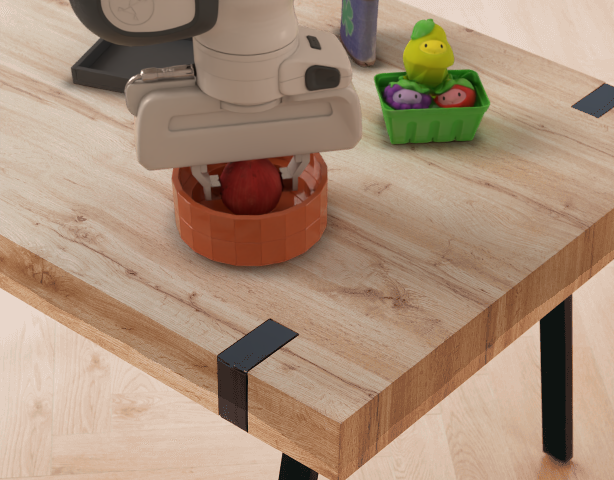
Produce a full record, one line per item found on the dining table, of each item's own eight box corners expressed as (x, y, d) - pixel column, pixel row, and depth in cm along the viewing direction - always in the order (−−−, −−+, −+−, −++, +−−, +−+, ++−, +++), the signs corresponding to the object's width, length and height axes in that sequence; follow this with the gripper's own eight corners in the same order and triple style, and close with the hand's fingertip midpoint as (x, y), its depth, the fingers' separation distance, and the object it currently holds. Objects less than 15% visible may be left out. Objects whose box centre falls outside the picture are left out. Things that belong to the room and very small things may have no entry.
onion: (213, 232, 101) (209, 161, 95) (230, 196, 105) (226, 126, 100) (274, 241, 100) (273, 170, 95) (288, 204, 104) (287, 135, 99)
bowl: (152, 252, 99) (146, 200, 95) (210, 168, 109) (207, 118, 105) (299, 285, 97) (299, 232, 93) (344, 195, 107) (346, 145, 103)
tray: (72, 83, 120) (70, 67, 119) (124, 29, 130) (122, 14, 128) (200, 108, 118) (199, 92, 116) (242, 51, 127) (242, 36, 126)
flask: (378, 66, 126) (383, -20, 119) (354, 68, 126) (357, -18, 118) (357, 29, 133) (360, -55, 126) (334, 31, 132) (335, -53, 125)
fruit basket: (381, 152, 113) (387, 56, 105) (368, 107, 119) (373, 13, 112) (486, 147, 115) (499, 52, 107) (468, 103, 121) (480, 11, 114)
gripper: (125, 90, 87) (141, 226, 96) (370, 68, 91) (363, 199, 100) (118, 52, 91) (135, 185, 100) (352, 33, 96) (348, 161, 105)
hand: (251, 192), depth 100 cm, fingers closed on onion, 6 cm apart
